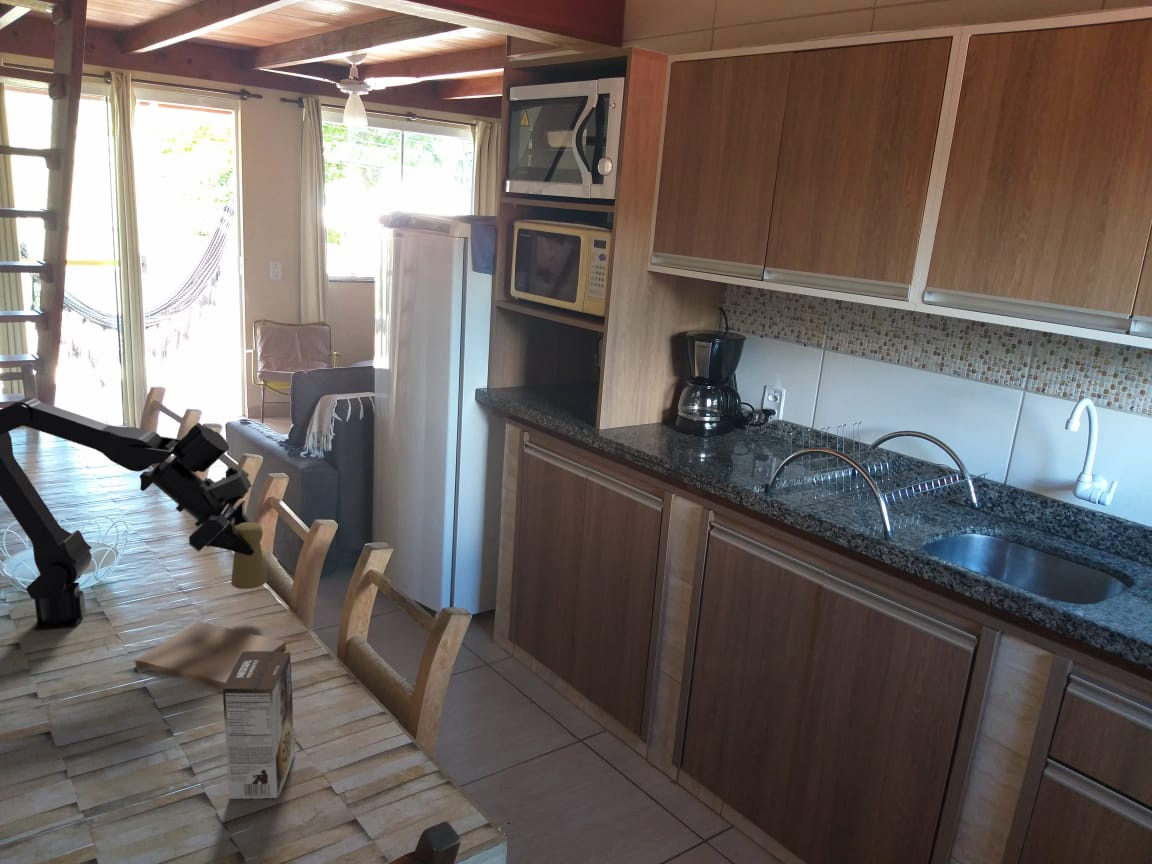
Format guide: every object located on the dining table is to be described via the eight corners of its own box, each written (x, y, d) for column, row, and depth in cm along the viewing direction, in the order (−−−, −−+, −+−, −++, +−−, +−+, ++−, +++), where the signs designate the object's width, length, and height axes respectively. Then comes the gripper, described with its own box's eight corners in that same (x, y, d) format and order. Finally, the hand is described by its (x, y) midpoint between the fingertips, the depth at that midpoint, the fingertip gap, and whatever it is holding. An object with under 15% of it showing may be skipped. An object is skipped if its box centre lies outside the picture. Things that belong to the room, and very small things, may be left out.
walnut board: (135, 666, 134) (135, 659, 134) (198, 627, 147) (198, 621, 147) (228, 690, 129) (228, 683, 129) (285, 648, 142) (285, 641, 142)
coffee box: (248, 755, 115) (242, 649, 111) (296, 754, 115) (292, 649, 111) (227, 800, 106) (219, 687, 102) (279, 800, 106) (274, 687, 102)
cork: (254, 591, 148) (251, 532, 145) (224, 585, 149) (220, 528, 146) (273, 577, 153) (271, 521, 150) (244, 572, 154) (241, 516, 152)
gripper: (206, 474, 136) (279, 537, 140) (232, 443, 153) (296, 500, 158) (157, 520, 136) (231, 581, 141) (188, 483, 154) (253, 539, 159)
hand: (255, 547), depth 150 cm, fingers closed on cork, 5 cm apart
